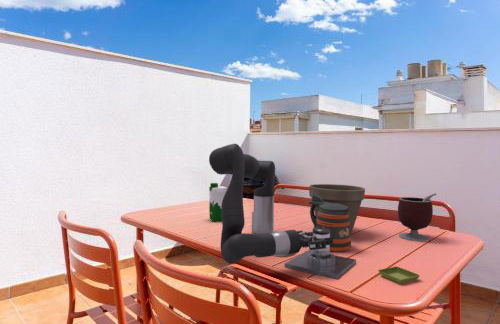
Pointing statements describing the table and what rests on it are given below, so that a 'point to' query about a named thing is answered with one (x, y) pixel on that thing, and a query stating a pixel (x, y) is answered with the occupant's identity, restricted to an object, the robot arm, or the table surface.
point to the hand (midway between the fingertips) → (324, 237)
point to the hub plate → (321, 269)
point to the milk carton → (216, 201)
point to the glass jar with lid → (319, 233)
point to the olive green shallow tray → (398, 274)
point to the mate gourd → (415, 216)
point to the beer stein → (332, 222)
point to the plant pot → (340, 197)
